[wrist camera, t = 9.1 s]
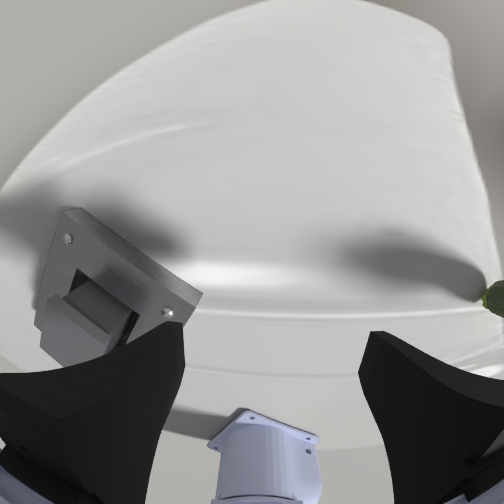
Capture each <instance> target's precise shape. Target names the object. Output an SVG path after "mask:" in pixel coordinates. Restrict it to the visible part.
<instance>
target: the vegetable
mask: <svg viewBox="0 0 504 504" xmlns="http://www.w3.org/2000/svg"><path fill="white" fill-rule="evenodd" d="M481 300H482V301H483V304H482V305H483V307H485V308H486V309H489V310H490V311H491V312H492V313H494V314H496V315H498V316H501V317H503V318H504V280H502V281H497V282H495V283H494V284H493V285H492V286H490V287H489V289H487V292H486V294H485V295H483V296H482V298H481Z"/></svg>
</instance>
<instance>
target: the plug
mask: <svg viewBox="0 0 504 504" xmlns="http://www.w3.org/2000/svg"><path fill="white" fill-rule="evenodd" d="M134 313H135V311H133V310H132V309H131V308H129V307H128V306H126V305H125V304H124V303H122V302H121V301H119V300H118V299H117V298H115V297H114V296H113V295H111V294H110V293H109V292H107V291H106V290H105V289H103V288H102V287H101V286H99V285H98V284H97V283H96V282H94V281H93V280H92V279H90V280H89V281H87V282H86V283H84V284H82V285H81V286H79V287H78V288H76V289H75V290H73V291H72V292H70V293H69V294H67V295H65V296H64V297H62V298H61V297H60V296H59V295H57V294H55V295H54V296H52V297H51V298H49V299H47V304H46V309H45V315H44V320H43V326H42V333H41V340H40V347H41V348H42V349H43V350H44V351H45V352H46V353H47V354H49V355H50V356H51V357H52V358H53V359H54V360H56V361H57V362H58V363H59V364H60V365H62V366H63V367H68V366H72V365H75V364H79V363H83V362H86V361H89V360H92V359H94V358H97V357H100V356H102V355H105V354H107V353H109V352H110V351H111V350H112V349H113V348H114V346H115V345H116V344H117V343H118V341H119V340H120V339H121V338H122V337H123V335H124V334H125V332H126V330H127V328H128V326H129V324H130V321H131V319H132V317H133V315H134Z"/></svg>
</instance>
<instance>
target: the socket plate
mask: <svg viewBox="0 0 504 504" xmlns="http://www.w3.org/2000/svg"><path fill="white" fill-rule="evenodd" d="M87 276H88V277H89V278H91V279H92V280H93V281H94V282H96V283H97V284H98V285H99V286H101V287H102V288H103V289H105V290H106V291H107V292H109V293H110V294H111V295H113V296H114V297H115V298H117V299H118V300H119V301H121V302H122V303H124V304H125V305H126V306H128V307H129V308H131V309H132V310H133V311H135V312H136V313H138V314H139V315H140V316H139V318H138V320H137V322H136V324H135V326H134V328H133V330H132V332H131V334H130V336H129V338H128V340H127V342H126V344H127V343H129V342H131V341H133V340H135V339H136V338H138V337H140V336H141V335H143V334H145V333H147V332H148V331H150V330H152V329H153V328H155V327H157V326H158V325H160V324H162V323H164V322H166V321H173V322H182V323H183V327H184V325H185V324H186V322H187V321H188V319H189V318H190V316H191V315H192V313H193V312H194V310H195V309H196V307H197V305H198V303H199V301H200V299H201V297H202V295H203V293H202V292H200V291H199V290H197V289H195V288H194V287H192V286H191V285H189V284H188V283H186V282H185V281H183V280H182V279H180V278H179V277H177V276H176V275H174V274H173V273H171V272H170V271H168V270H167V269H165V268H164V267H162V266H161V265H159V264H158V263H156V262H155V261H153V260H152V259H150V258H149V257H148V256H146V255H145V254H143V253H142V252H140V251H139V250H138V249H136V248H135V247H133V246H132V245H131V244H129V243H128V242H126V241H125V240H124V239H122V238H121V237H119V236H118V235H117V234H115V233H114V232H113V231H111V230H110V229H109V228H107V227H106V226H104V225H103V224H102V223H100V222H99V221H98V220H97V219H95V218H94V217H93V216H91V215H90V214H89V213H87V212H86V211H85V210H83V209H82V208H78V209H72V210H67V211H63V212H62V215H61V218H60V220H59V223H58V226H57V229H56V232H55V235H54V239H53V242H52V245H51V248H50V252H49V255H48V259H47V263H46V267H45V271H44V275H43V279H42V283H41V288H40V293H39V298H38V303H37V308H36V314H35V321H34V325H35V326H36V327H37V328H38V329H39V330H40V331H41V332H42V326H43V320H44V315H45V309H46V304H47V299H49V298H51V297H52V296H54V295H55V294H57V295H59V296H60V297H61V298H62V297H64V296H65V295H67V294H69V293H70V292H72V291H73V290H75V289H76V288H78V287H79V286H81V285H82V284H84V283H85V281H86V278H87ZM119 347H121V345H119V344H118V343H117V344H116V345H115V346H114V348H113V349H112V350H111V351H113V350H115V349H117V348H119ZM111 351H110V352H111Z"/></svg>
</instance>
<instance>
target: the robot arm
mask: <svg viewBox="0 0 504 504" xmlns="http://www.w3.org/2000/svg"><path fill="white" fill-rule="evenodd" d="M184 369H185V356H184V340H183V323H182V322H173V321H166V322H164V323H162V324H160V325H158V326H157V327H155V328H153V329H152V330H150V331H148V332H147V333H145V334H143V335H141V336H140V337H138V338H136V339H135V340H133V341H131V342H129V343H127V344H125V345H123V346H121V347H119V348H117V349H115V350H113V351H111V352H109V353H107V354H105V355H102V356H100V357H97V358H94V359H92V360H89V361H86V362H83V363H79V364H75V365H72V366H68V367H64V368H60V369H54V370H48V371H41V372H31V373H0V437H1V439H2V440H3V441H4V443H5V444H6V446H5V447H4V448H3V450H1V449H0V504H145V499H146V494H147V488H148V483H149V477H150V473H151V468H152V464H153V459H154V455H155V452H156V448H157V444H158V440H159V437H160V434H161V431H162V429H163V426H164V424H165V421H166V419H167V417H168V414H169V412H170V409H171V407H172V405H173V402H174V400H175V397H176V395H177V393H178V390H179V388H180V384H181V381H182V377H183V373H184ZM358 374H359V379H360V383H361V386H362V390H363V393H364V395H365V398H366V400H367V402H368V405H369V407H370V409H371V412H372V414H373V416H374V419H375V421H376V423H377V426H378V428H379V430H380V433H381V435H382V438H383V441H384V445H385V448H386V452H387V456H388V461H389V466H390V471H391V477H392V484H393V493H394V504H504V380H499V379H493V378H488V377H484V376H480V375H476V374H473V373H470V372H467V371H464V370H461V369H458V368H456V367H453V366H451V365H448V364H446V363H444V362H442V361H440V360H438V359H436V358H434V357H432V356H430V355H428V354H426V353H424V352H422V351H421V350H419V349H417V348H415V347H414V346H412V345H410V344H408V343H406V342H405V341H403V340H401V339H399V338H397V337H396V336H394V335H392V334H390V333H387V332H385V331H370V335H369V338H368V342H367V345H366V349H365V352H364V355H363V358H362V362H361V365H360V368H359V371H358ZM251 416H253V417H251ZM319 441H320V437H319V436H316V435H313V434H310V433H307V432H304V431H301V430H298V429H295V428H292V427H290V426H287V425H284V424H281V423H279V422H276V421H274V420H271V419H269V418H266V417H264V416H261V415H259V414H257V413H254V412H252V411H249V410H246V411H244V412H242V413H241V414H240V415H239V416H238V417H237V418H236V419H235V420H234V421H233V422H232V423H230V424H229V425H228V426H227V427H226V428H225V429H224V430H223V431H221V432H220V433H219V434H218V435H217V436H216V437H214V438H213V439H212V440H211V441H210V442H209V443H208V444H207V447H209V448H210V449H213V450H215V451H218V452H220V453H221V459H220V466H219V474H218V481H217V489H216V497H215V499H212V500H211V504H317V502H318V501H319V498H320V496H321V492H322V480H321V474H320V469H319V463H318V458H317V453H316V447H315V444H316V443H318V442H319Z"/></svg>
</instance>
